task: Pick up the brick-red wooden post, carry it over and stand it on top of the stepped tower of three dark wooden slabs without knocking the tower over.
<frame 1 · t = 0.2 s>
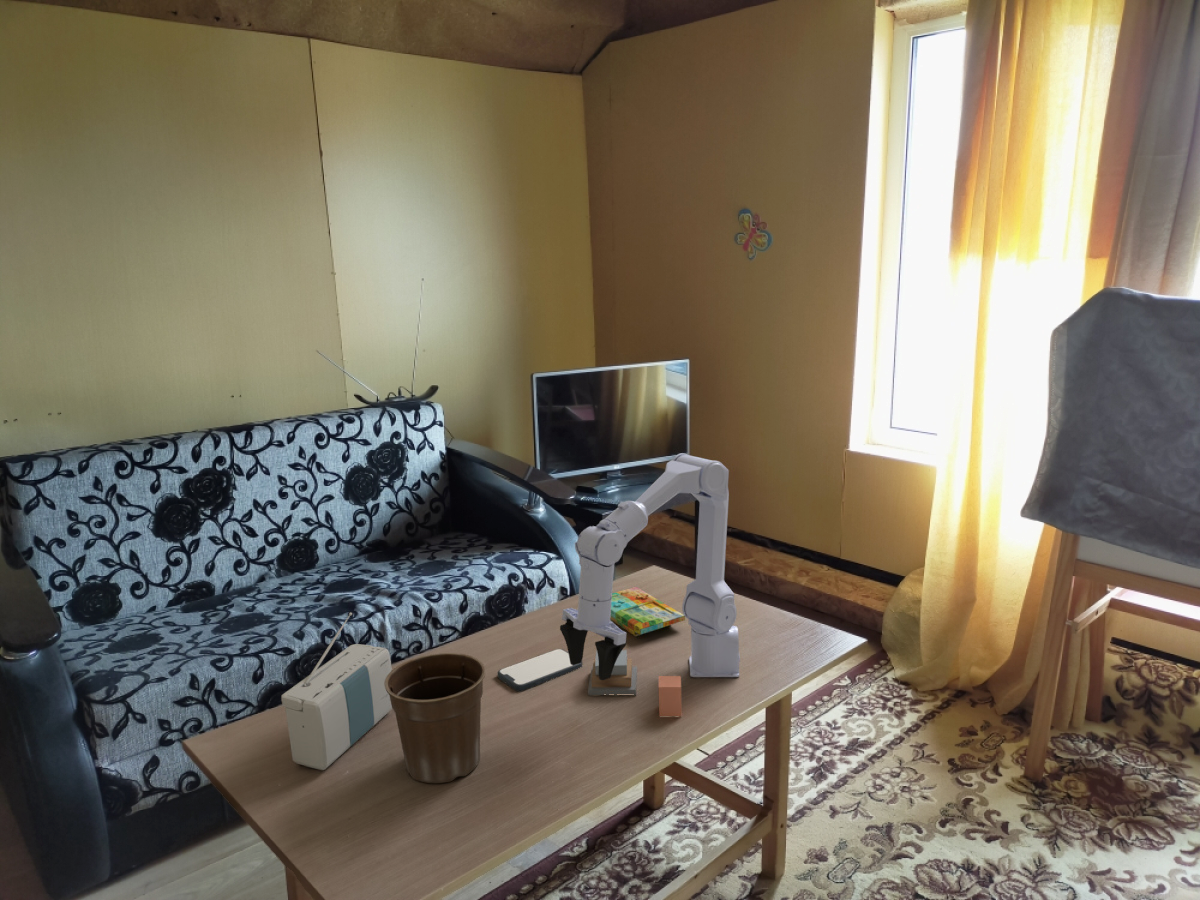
hand: (590, 670, 148), 10 cm above the table, tool pointing down, fingers open, 7 cm apart
tower top slab: (611, 667, 164), point 3 cm above the table
stereo radio cassette player: (345, 739, 150), on the table
tower middle slab: (612, 677, 164), point 1 cm above the table, touching tower base slab
puzzle game: (637, 623, 191), on the table
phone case: (540, 673, 170), on the table
tower base slab: (613, 687, 164), on the table, touching tower middle slab
plant pot: (443, 763, 141), on the table
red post: (670, 711, 154), on the table
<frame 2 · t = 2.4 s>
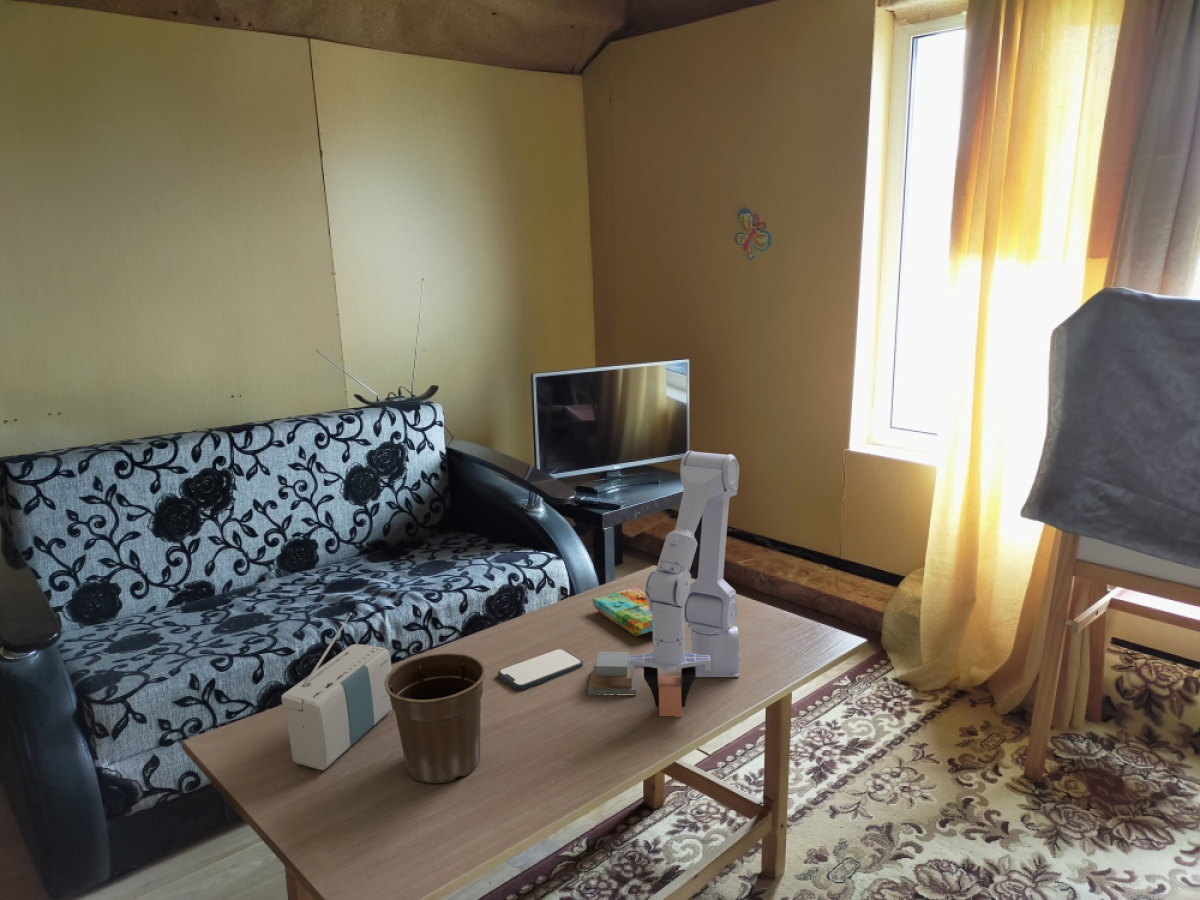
hand: (670, 704, 153), 1 cm above the table, tool pointing down, fingers closed on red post, 4 cm apart
tower top slab: (613, 668, 164), point 3 cm above the table, touching tower middle slab
tower middle slab: (613, 678, 164), point 1 cm above the table, touching tower top slab
tower base slab: (613, 687, 164), on the table
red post: (670, 711, 154), on the table, touching gripper
everything else where it was.
when the fingers open (8 cm above the table, at t = 6.1 s): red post drops 2 cm, resting on tower top slab.
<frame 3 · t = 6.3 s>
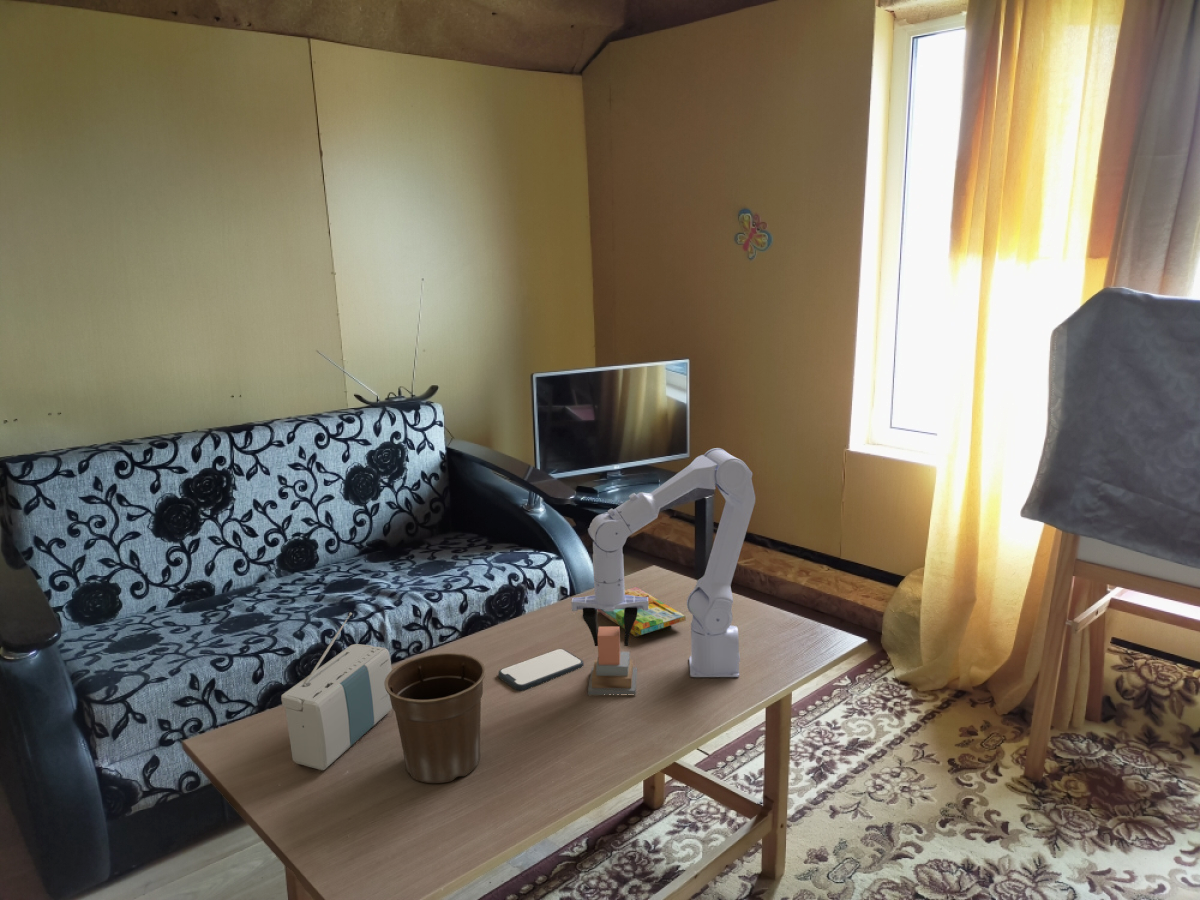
hand: (611, 643, 162), 8 cm above the table, tool pointing down, fingers open, 5 cm apart
tower top slab: (613, 668, 164), point 3 cm above the table, touching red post, tower middle slab
tower middle slab: (612, 678, 164), point 1 cm above the table, touching tower base slab, tower top slab
tower base slab: (613, 687, 164), on the table, touching tower middle slab
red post: (609, 659, 163), point 5 cm above the table, touching gripper, tower top slab
everything else where it was.
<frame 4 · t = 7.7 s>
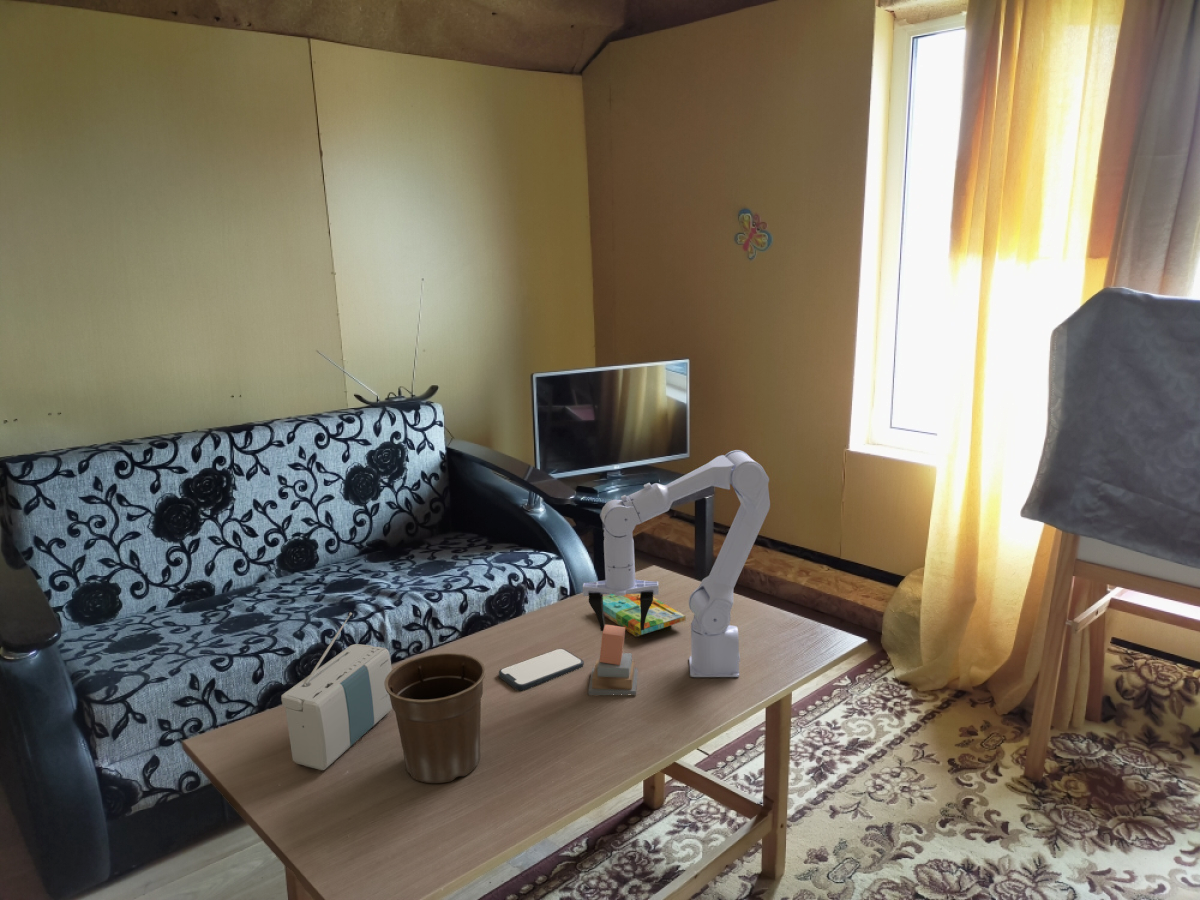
hand: (622, 628, 164), 10 cm above the table, tool pointing down, fingers open, 7 cm apart
tower top slab: (615, 669, 163), point 3 cm above the table, touching tower middle slab
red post: (610, 658, 163), point 5 cm above the table, tilted 8°
everything else where it was.
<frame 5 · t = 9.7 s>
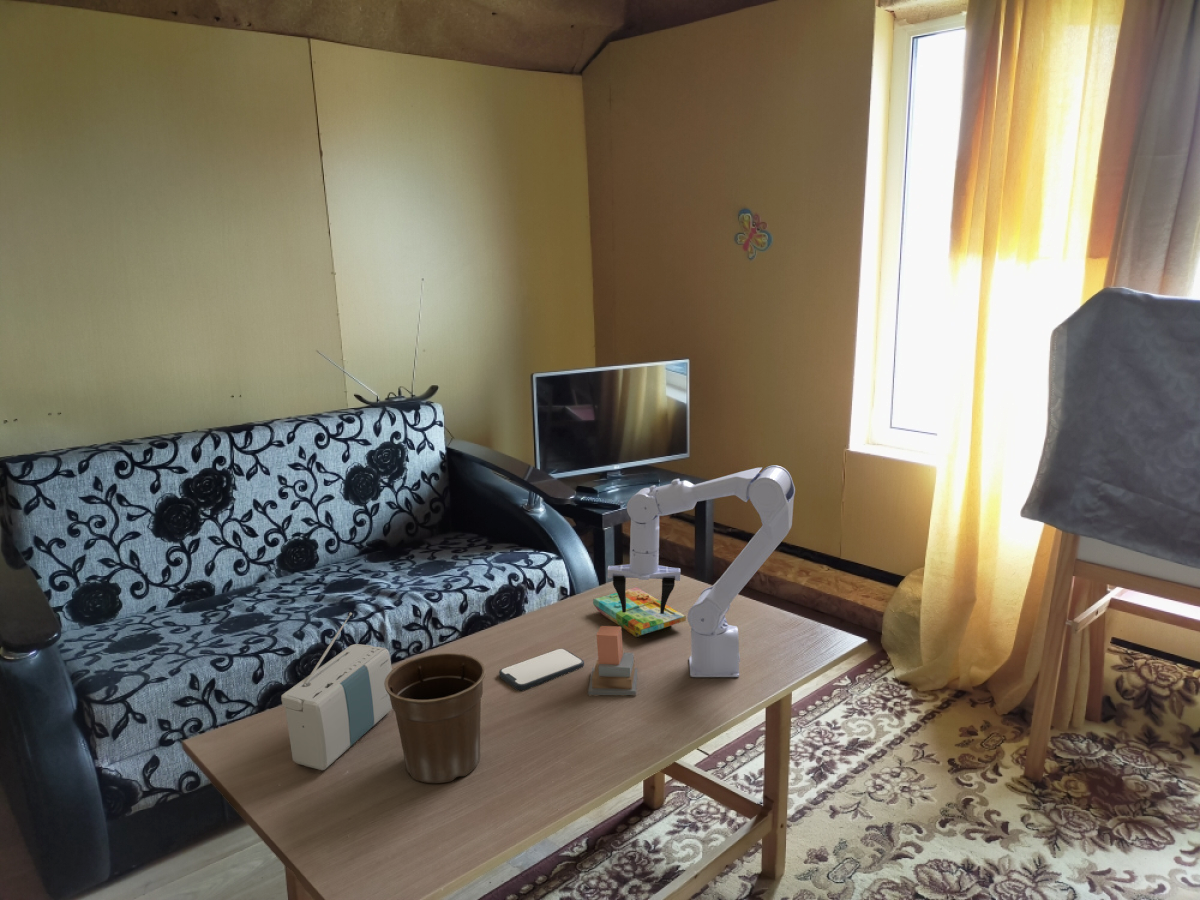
hand: (643, 611, 171), 10 cm above the table, tool pointing down, fingers open, 7 cm apart
tower top slab: (616, 669, 164), point 3 cm above the table, touching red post, tower middle slab
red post: (611, 659, 163), point 5 cm above the table, touching tower top slab
everything else where it was.
at the end: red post 1.0 cm off-centre on the tower top slab, point 2.0 cm above the tower top slab's base; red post tilted 2°; tower top slab moved 1.2 cm from its start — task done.
